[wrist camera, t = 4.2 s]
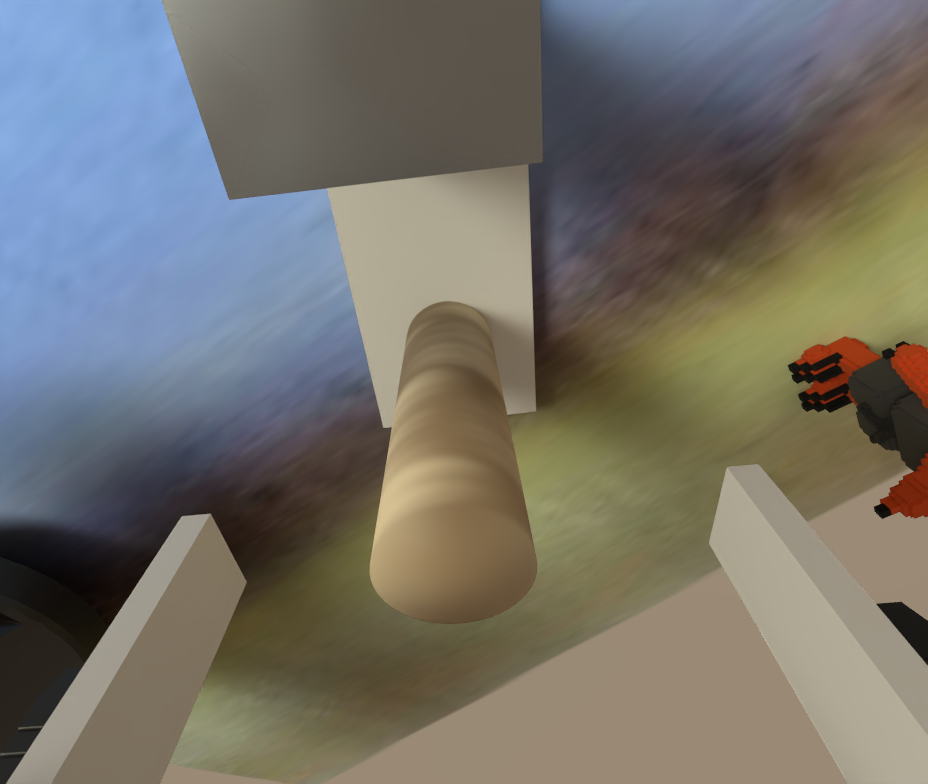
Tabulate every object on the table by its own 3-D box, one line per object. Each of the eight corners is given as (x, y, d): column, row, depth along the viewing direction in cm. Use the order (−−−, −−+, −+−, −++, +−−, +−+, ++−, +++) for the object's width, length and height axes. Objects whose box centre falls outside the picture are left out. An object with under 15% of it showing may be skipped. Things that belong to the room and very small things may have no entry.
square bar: (361, 141, 18) (229, 199, 7) (331, -16, 16) (58, -306, 5) (482, 126, 18) (543, 162, 7) (470, -34, 16) (534, -374, 4)
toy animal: (740, 349, 24) (954, 527, 14) (851, 291, 23) (1178, 442, 13) (780, 450, 28) (976, 651, 18) (879, 405, 27) (1152, 595, 16)
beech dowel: (413, 382, 24) (386, 630, 13) (399, 306, 22) (352, 522, 10) (494, 373, 24) (539, 615, 12) (488, 296, 21) (534, 503, 10)
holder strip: (385, 417, 26) (383, 427, 25) (268, -91, 15) (258, -102, 15) (533, 401, 26) (536, 411, 25) (514, -123, 15) (518, -137, 14)
